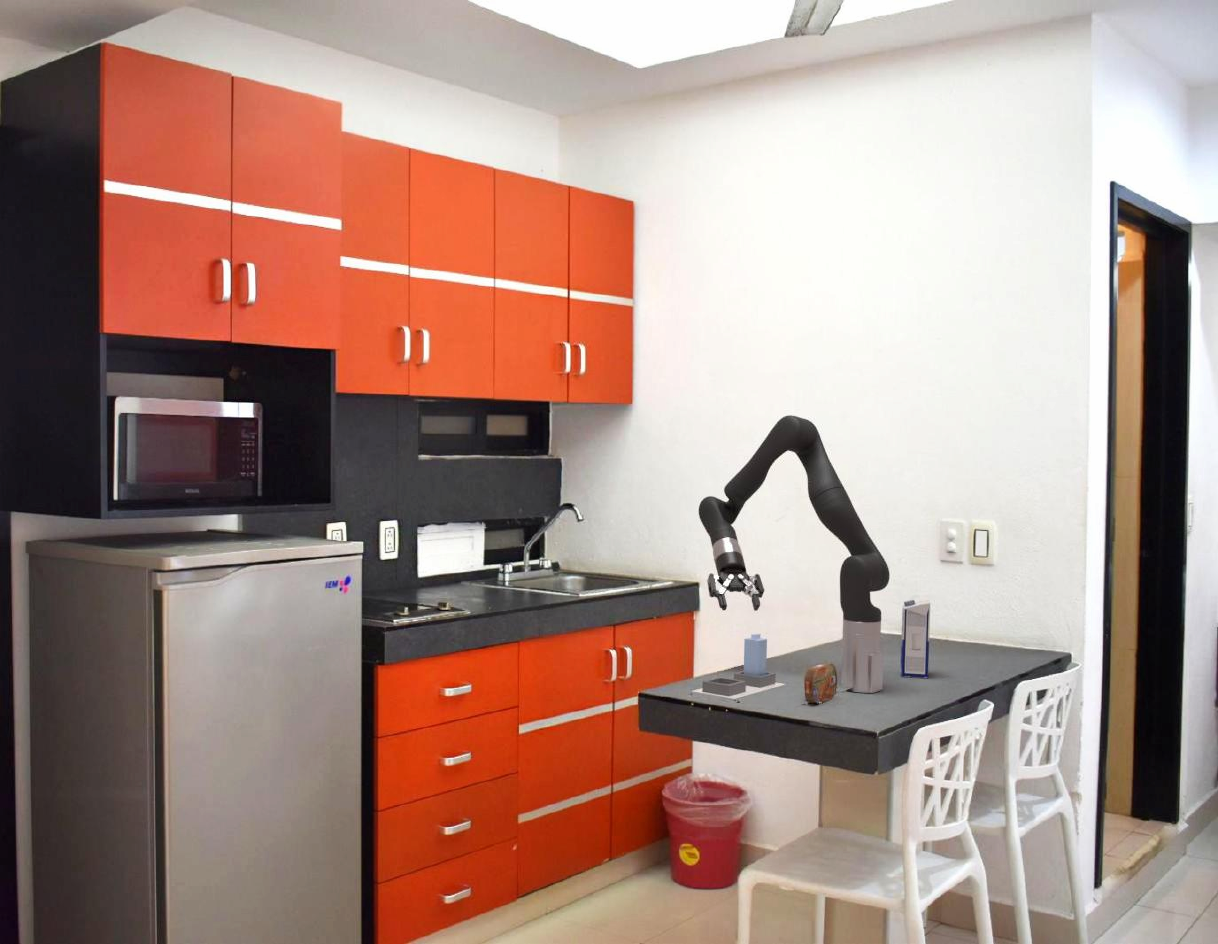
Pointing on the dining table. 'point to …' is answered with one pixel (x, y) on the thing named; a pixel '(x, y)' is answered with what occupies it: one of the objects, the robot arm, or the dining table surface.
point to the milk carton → (915, 638)
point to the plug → (755, 655)
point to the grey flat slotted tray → (738, 685)
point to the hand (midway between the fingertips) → (740, 608)
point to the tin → (820, 683)
